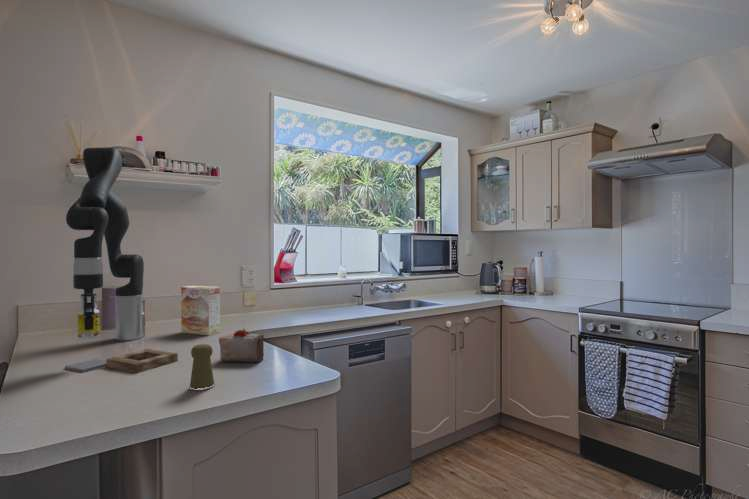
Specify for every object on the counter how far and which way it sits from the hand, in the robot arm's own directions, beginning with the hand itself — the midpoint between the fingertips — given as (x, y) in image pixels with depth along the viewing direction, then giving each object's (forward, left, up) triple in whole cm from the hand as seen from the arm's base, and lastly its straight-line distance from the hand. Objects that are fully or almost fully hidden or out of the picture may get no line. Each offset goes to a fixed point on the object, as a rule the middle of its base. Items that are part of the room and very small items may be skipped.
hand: (88, 327), depth 131 cm
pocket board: (-9, +12, -12) cm, 19 cm away
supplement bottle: (0, 0, -3) cm, 3 cm away
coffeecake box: (-51, -9, -12) cm, 53 cm away
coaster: (0, 0, -12) cm, 12 cm away
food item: (-25, +37, -12) cm, 47 cm away
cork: (-1, +46, -12) cm, 48 cm away
